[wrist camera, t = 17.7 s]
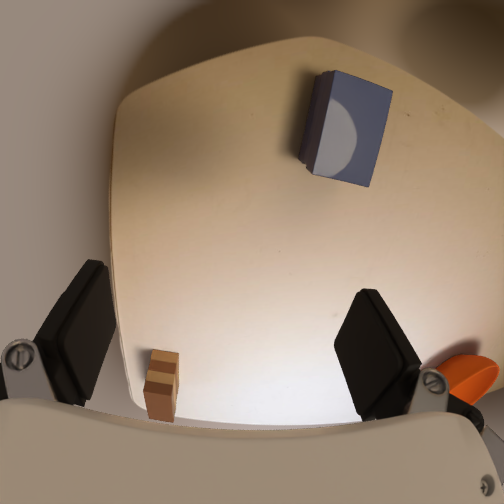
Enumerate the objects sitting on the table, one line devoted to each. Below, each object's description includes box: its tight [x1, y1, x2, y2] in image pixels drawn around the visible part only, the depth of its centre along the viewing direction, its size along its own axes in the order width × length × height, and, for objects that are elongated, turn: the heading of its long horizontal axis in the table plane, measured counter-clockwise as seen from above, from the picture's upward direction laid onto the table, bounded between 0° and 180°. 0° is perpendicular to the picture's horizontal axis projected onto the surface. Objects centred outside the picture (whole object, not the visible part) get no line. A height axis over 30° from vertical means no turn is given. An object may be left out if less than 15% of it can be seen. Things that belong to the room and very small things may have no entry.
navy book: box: [306, 70, 393, 187], centre depth 24 cm, size 10×6×2 cm, turn 170°
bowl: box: [436, 354, 500, 405], centre depth 52 cm, size 25×25×10 cm
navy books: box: [298, 71, 330, 165], centre depth 27 cm, size 10×6×4 cm, turn 170°
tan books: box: [143, 349, 179, 423], centre depth 43 cm, size 10×4×9 cm, turn 170°
